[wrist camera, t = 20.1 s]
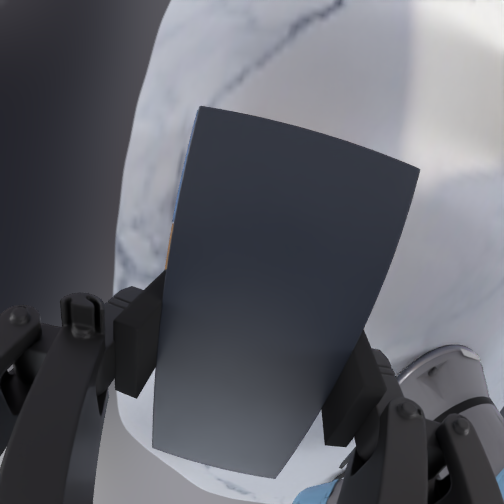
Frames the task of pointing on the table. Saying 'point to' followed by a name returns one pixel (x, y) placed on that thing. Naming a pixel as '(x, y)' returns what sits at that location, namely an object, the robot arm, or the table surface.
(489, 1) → the table surface
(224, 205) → the case
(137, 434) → the table surface
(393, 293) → the table surface
